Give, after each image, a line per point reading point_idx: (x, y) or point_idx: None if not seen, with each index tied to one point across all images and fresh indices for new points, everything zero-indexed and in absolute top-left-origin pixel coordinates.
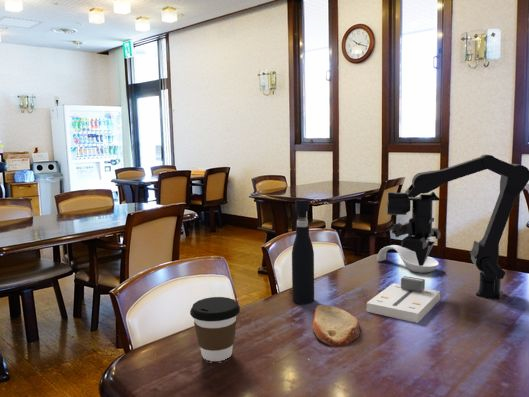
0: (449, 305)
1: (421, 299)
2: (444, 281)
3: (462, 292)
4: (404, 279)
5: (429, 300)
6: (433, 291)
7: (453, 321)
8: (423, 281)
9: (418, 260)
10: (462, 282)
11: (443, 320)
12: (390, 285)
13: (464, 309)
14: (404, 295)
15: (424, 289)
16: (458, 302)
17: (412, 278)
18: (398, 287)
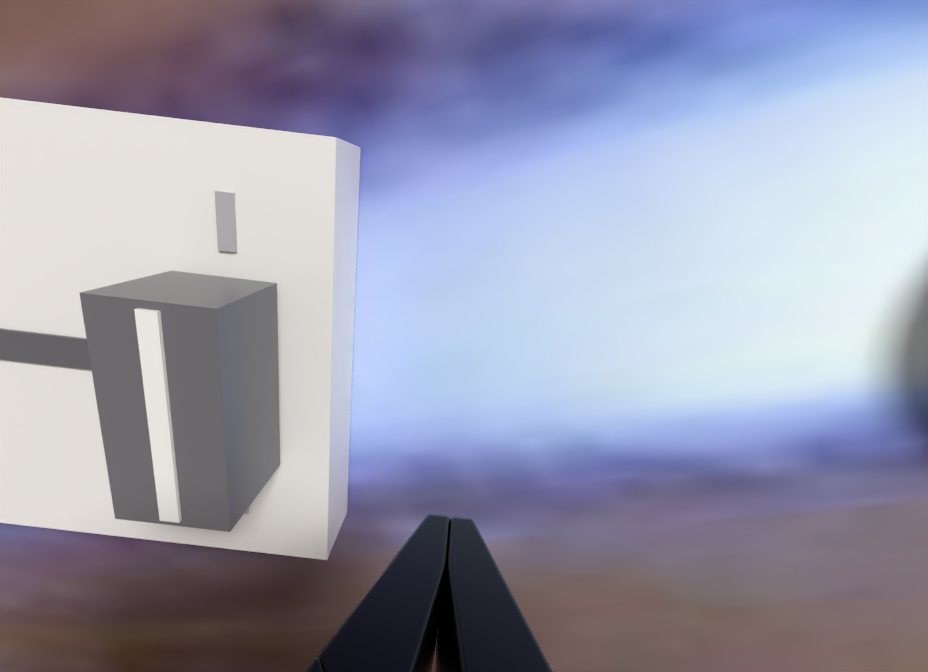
0: (272, 568)
1: (52, 472)
2: (797, 491)
3: (565, 610)
4: (88, 336)
5: (73, 523)
6: (293, 521)
7: (41, 605)
8: (189, 518)
9: (388, 578)
10: (803, 596)
11: (15, 565)
12: (235, 130)
13: (256, 636)
14: (31, 340)
15: (305, 455)
16: (356, 604)
17: (162, 419)
18: (217, 232)
